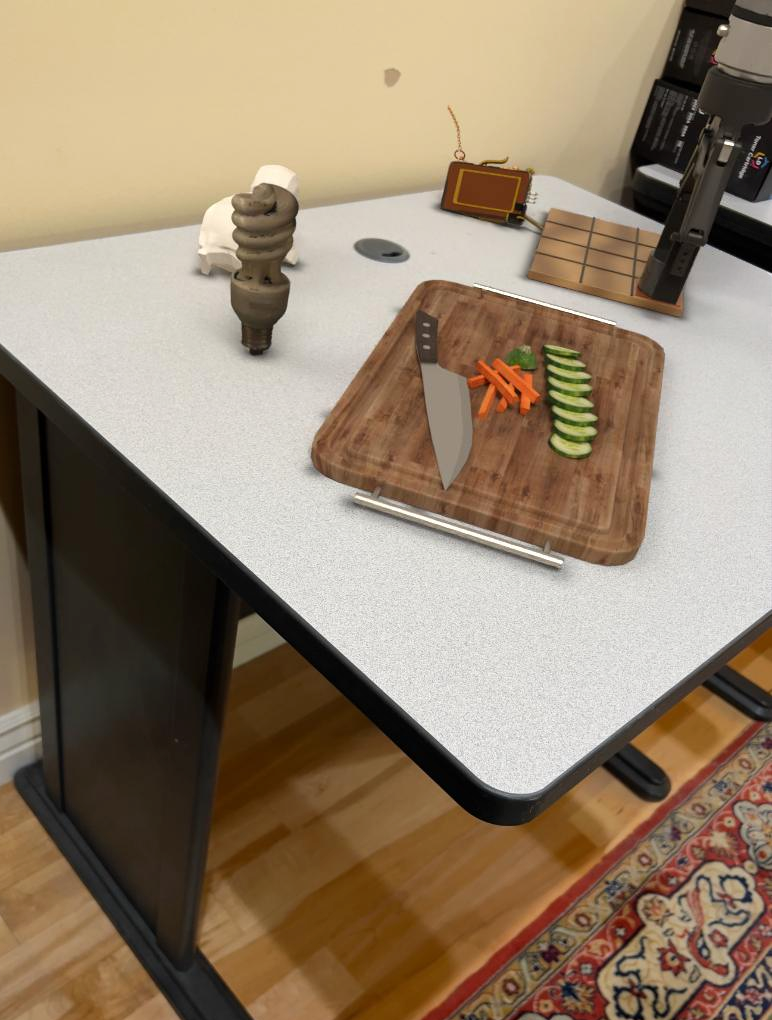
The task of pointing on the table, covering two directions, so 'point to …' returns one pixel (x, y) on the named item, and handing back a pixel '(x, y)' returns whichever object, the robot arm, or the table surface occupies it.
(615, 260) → the game board
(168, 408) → the table surface
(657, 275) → the dark grey short cylinder
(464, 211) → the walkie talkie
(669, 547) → the table surface
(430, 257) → the table surface
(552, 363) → the chopping board
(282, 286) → the light bulb
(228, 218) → the white lumpy sculpture
